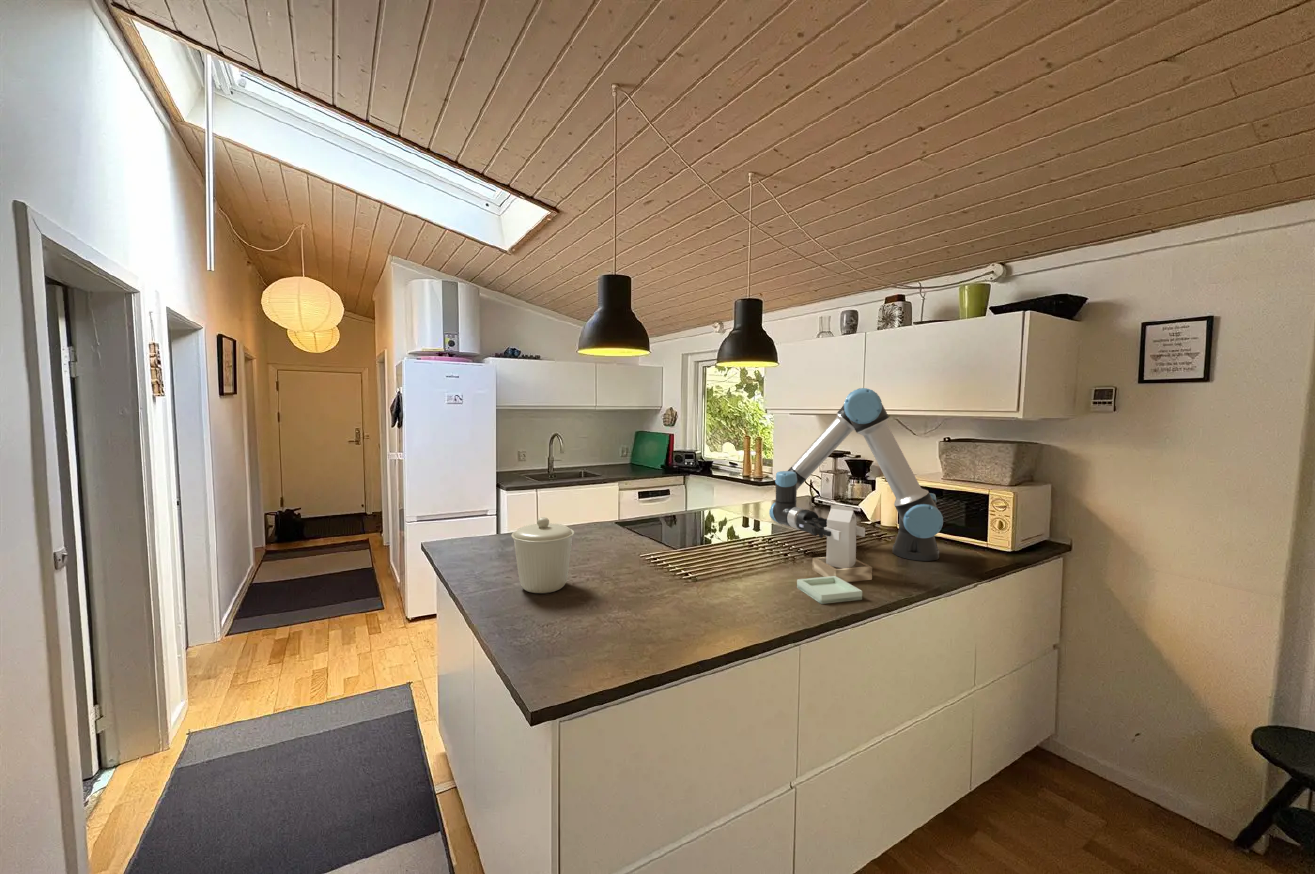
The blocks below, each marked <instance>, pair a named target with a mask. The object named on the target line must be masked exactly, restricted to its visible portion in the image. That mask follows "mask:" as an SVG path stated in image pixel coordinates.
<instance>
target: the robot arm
mask: <svg viewBox="0 0 1315 874" xmlns="http://www.w3.org/2000/svg"><path fill="white" fill-rule="evenodd" d="M889 421H890V416H889V414H888V412H887V411H886V408H885V407H884V405H883V403H882V399H881V397H880V395H879V394H878V393H877V392H875V390H873V389H870V388H868V387H860V388H857V389H854V390H853V391H850V392H849V393H848V395H846V396H845V400H844V402H843V404H842V406H841V407H840V409H839V410H838V411H837V412H836V417H835V419H833V421H831V422H830V424H829V425H828V426H827V427H826V428H825V429H824V430H823V431H822V432H821V433H820V435H818V437H817V438H816V439H815V440H814V441H813V443H812V444H810V445H809V447H808V448H807V449H805V451H804V452H803V453H802V454H801V455H800V456H799V458H797V460H796V461H795V462H794V463H793V464H792V465H791V467H789V468H788V470H782V471H780V470H779V471H777V472H776V474H775V480H774V482H775V502H773V503H772V504H771V506H770V508H769V511H768V514H769V517H770V519H771V520H773V521H774V522H776V523H778V524H780V525H784V526H787V527H791V528H794V529H796V531H802V532H806V533H809V534H811V535H812V536H815V537H816V536H819V537H818V538H819V539H820V538H821V539H822V538H824V537H826V538H827V537H829V538H832V539H836V540H841V532H840V531H837V530H834V529H830V528H827V518H823V517H821V516H819V515H818V513H817V512H816V511H813V510H811V509H810V510H809V509H807V508H803V507H799V506H797V495H798V494H797V493H798V492H797V491H798V489H799V488H800V487H801V486H802V485H803V484H804V483H806V480H808V479H809V478H810V477H811V475H812V474H813V473H814V472H815V471H816V470H817V469H818V468H819V467H820V466H821V465H822V464H823V463H824V462H825V461H826V459H827V458H828V457H829V456H831V454H832V453H833V452H835V450H836V449H837V448H838V447H839V446H840V445H841V444H842V442H843V441H845V439H847V437H848V436H850V434H851V433H852V432H853V431H855V433H856V434H858V435H861V436H863V438H864V439H865V442H866V444H867V445H868V448H869V450H870V451H871V454H872V455H873V458H874V460H875V461H876V463H877V465H878V466H879V469H880V470H881V473H882V474H883V476H884V477H885V480H886V482H887V484H888V486H889V488H890V490H891V492H892V494H893V495H894V497H895V500H894V503H893V505H894V508H895V510H896V511H897V513H898V517H899V519H898V533H897V535H896V538H895V541H894V544H893V545H892V554H894V555H895V556H897V557H900V558H902V559H908V560H913V561H920V562H921V561H922V562H923V561H924V562H930V561H931V562H932V561H936V560H938V559H940V550H939V547H938V543H937V540H936V537H935V536H937V534H939V532H941V530H942V528H943V524H944V517H943V514H942V512H941V510H939V509H938V506H937V497H936V494H935V493H934V492H933V493H932V492H929V490H928V489H925V488H922V487H921V485H920V484H919V481H918V480H917V478H916V476H915V474H914V472H913V469H912V468H911V466H910V464H909V462H908V461H907V459H906V457H905V455H904V453H903V451H902V448H901V447H900V445H899V444H898V441H897V440H896V438H895V435H894V434H893V432H892V431H891V428H890V427H889V424H888V423H889ZM856 536H859V537H862V538H865V536H866V528H865V527H863V526H859V525H856Z"/></svg>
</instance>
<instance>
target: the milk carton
mask: <svg viewBox="0 0 1315 874" xmlns="http://www.w3.org/2000/svg"><path fill="white" fill-rule="evenodd" d="M826 519H827V528H830V529H834V530H837V531H840V532H841V540H836V539H832V538H829V537H826V556H825V557H826V564H828V565H830V566H833V567H839V569H844V568H851V567H852V566H853V565H854V564H855V563H856V560H857V558H856V557H857V553H856V552H857V535H856V526H857V516H856V514H855V512H854V507H851V506H849V507H848V506H843V505H841V506H840V505H832V504H831V505H830V511H829V513H828V516H827V518H826Z"/></svg>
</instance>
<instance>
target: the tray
mask: <svg viewBox="0 0 1315 874" xmlns="http://www.w3.org/2000/svg"><path fill="white" fill-rule="evenodd" d="M796 588H797V589H798V590H799V591H801V592H803V593H804V594H806V595H807V596H808V597H810V598H812V599H813V600H815V601H816V602H817V603H819V604H821V605H825V604H834V603H842V602H843V603H845V602H851V601H852V602H853V601H854V602H855V601H861V600H863V590H861V589H860V588H858V587H856V586H855V585H852V583H850V582H845V581H844V580H842V579H840V578H838V577H836V576H829V577H824V576H819V577H809V578H808V577H807V578H799V579H798V578H797V579H796Z"/></svg>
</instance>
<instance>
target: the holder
mask: <svg viewBox="0 0 1315 874" xmlns="http://www.w3.org/2000/svg"><path fill="white" fill-rule="evenodd" d="M811 565H812V568H811V570H812V571H813V572H815V573H817V574H819V575H821V577H829V576H836V577H838V578H840V579H842V580H844V581H845V582H847V583H851V582H861V581H862V582H863V581H870V580H872V579H873V566H871V565H869V564H867V563H865V562H862V561H861V560H859V559H856V563H855V564H854V565H853V566H852V567H851V568H839V567H833V566H830V565H828V564H826V556H822V557H821V556H820V557H819V556H817V557H812V564H811Z"/></svg>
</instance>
